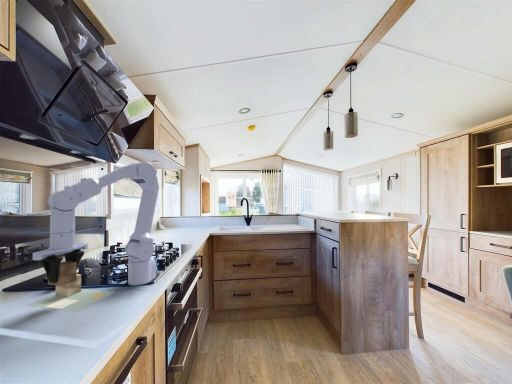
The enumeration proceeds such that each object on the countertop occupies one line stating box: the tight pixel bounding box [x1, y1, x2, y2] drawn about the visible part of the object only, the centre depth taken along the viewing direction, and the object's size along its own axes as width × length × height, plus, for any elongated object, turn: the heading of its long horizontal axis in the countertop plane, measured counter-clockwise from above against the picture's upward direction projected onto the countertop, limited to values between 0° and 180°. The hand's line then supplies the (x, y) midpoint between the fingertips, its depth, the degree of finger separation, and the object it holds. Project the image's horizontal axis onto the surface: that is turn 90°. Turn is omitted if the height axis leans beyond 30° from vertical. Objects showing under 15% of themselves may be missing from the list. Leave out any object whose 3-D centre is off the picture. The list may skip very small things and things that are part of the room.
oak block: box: [55, 273, 82, 297], centre depth 79 cm, size 5×5×5 cm
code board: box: [27, 288, 116, 312], centre depth 75 cm, size 14×17×1 cm
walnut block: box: [47, 260, 77, 287], centre depth 71 cm, size 5×5×5 cm
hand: (62, 279), depth 71 cm, fingers closed on walnut block, 5 cm apart
